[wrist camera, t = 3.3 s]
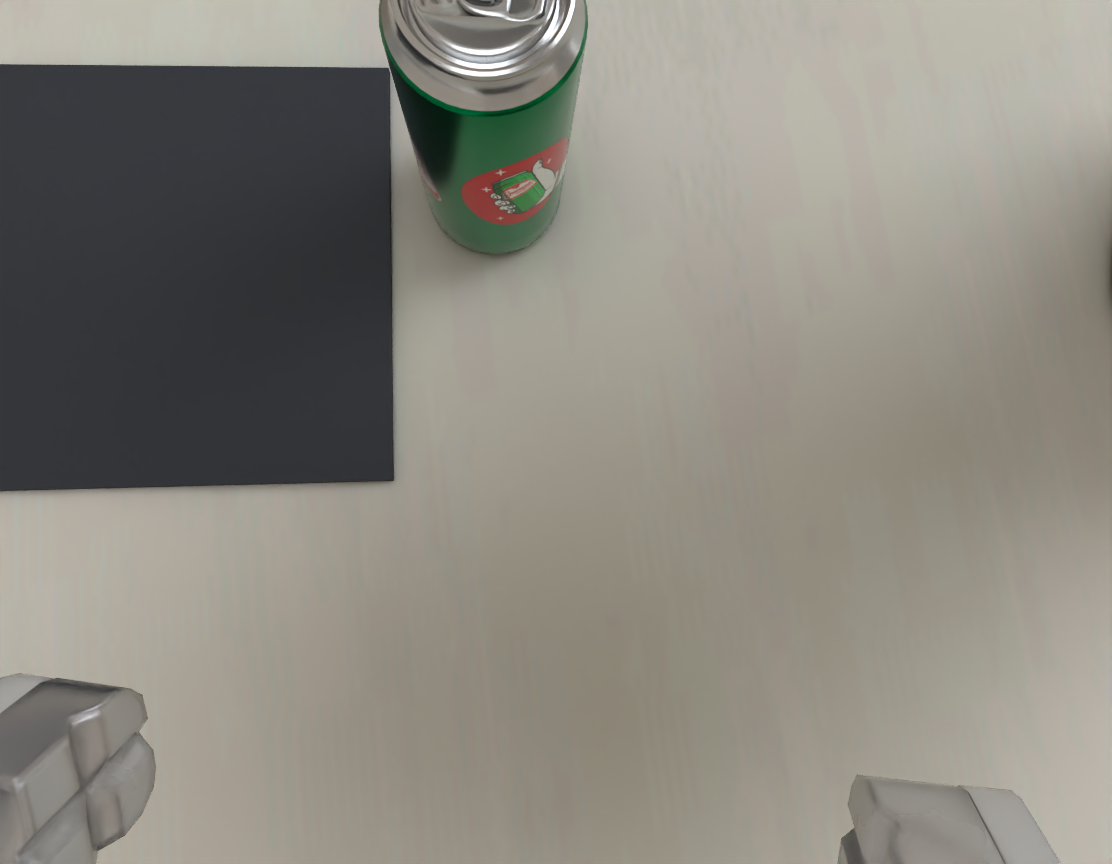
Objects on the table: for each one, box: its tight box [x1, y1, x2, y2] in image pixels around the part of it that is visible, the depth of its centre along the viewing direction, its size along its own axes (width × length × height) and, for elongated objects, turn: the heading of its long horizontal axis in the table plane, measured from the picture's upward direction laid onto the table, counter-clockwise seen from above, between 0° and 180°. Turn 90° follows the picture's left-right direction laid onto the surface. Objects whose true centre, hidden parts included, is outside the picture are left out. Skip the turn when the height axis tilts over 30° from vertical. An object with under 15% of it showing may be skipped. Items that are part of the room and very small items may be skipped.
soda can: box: [379, 0, 588, 254], centre depth 23 cm, size 5×5×12 cm
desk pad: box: [0, 64, 394, 491], centre depth 27 cm, size 20×16×1 cm
